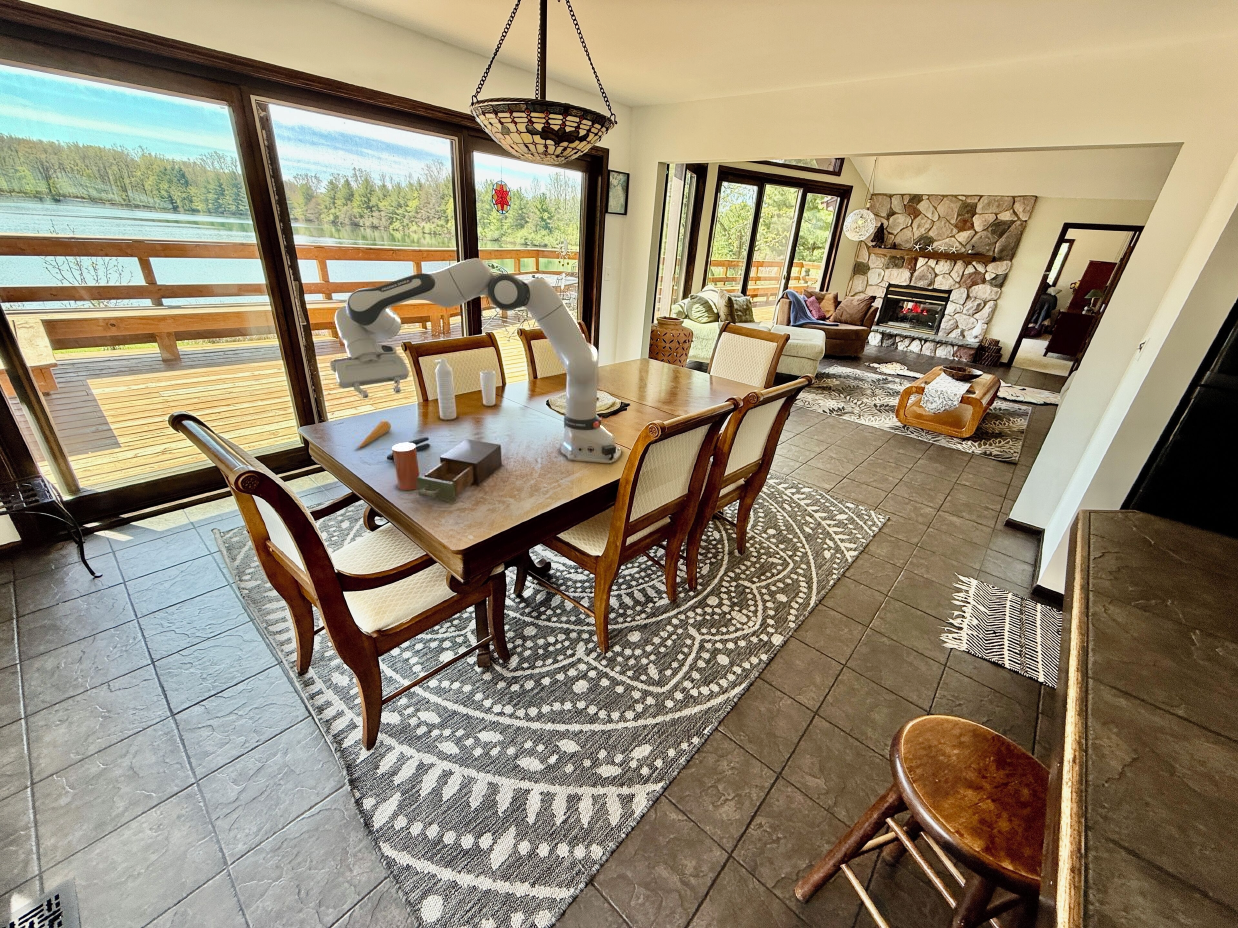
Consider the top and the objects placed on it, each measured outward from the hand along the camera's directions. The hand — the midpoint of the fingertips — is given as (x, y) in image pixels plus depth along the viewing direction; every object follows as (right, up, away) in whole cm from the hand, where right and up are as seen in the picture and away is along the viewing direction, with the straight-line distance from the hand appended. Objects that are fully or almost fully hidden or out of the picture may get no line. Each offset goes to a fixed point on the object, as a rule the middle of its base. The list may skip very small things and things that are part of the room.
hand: (382, 394), depth 145 cm
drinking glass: (+12, +6, +75) cm, 76 cm away
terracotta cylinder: (+7, -28, +3) cm, 29 cm away
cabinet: (+23, -24, +14) cm, 36 cm away
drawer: (+19, -29, 0) cm, 35 cm away
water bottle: (-1, -2, +56) cm, 56 cm away
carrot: (-20, -12, +32) cm, 40 cm away
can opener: (-1, -18, +23) cm, 29 cm away
